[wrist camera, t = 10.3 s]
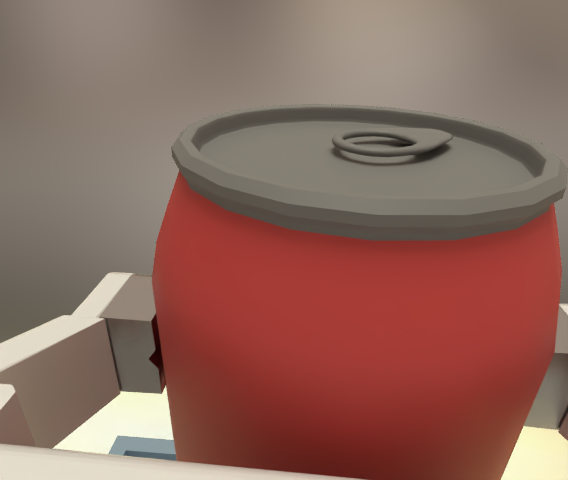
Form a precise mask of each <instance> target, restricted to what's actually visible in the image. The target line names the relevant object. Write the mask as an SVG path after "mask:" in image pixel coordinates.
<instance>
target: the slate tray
mask: <svg viewBox="0 0 568 480" xmlns="http://www.w3.org/2000/svg"><path fill="white" fill-rule="evenodd" d="M109 454H112V455H122V456H132V457H142V458H152V459H163V460H173V461H177V459H176V452H175V445H174V440H165V439H152V438H140V437H128V436H117V438H116V440H115V442H114V444H113V446H112V448H111V450H110V452H109Z"/></svg>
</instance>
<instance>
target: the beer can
mask: <svg viewBox="0 0 568 480" xmlns="http://www.w3.org/2000/svg"><path fill="white" fill-rule="evenodd" d="M171 149H172V157H173V159H174V161H175V163H176V165H177V166H178V168H179V173H178V176H177V179H176V182H175V185H174V188H173V191H172V194H171V197H170V200H169V203H168V206H167V209H166V212H165V216H164V219H163V222H162V226H161V229H160V232H159V235H158V239H157V242H156V251H155V258H154V267H153V275H152V287H153V294H154V302H155V309H156V316H157V323H158V330H159V337H160V345H161V352H162V359H163V366H164V373H165V381H166V388H167V395H168V402H169V409H170V416H171V424H172V431H173V438H174V445H175V452H176V459H177V461H183V462H193V463H203V464H213V465H224V466H234V467H244V468H254V469H264V470H275V471H285V472H295V473H305V474H316V475H326V476H336V477H346V478H356V479H367V480H501V477H502V475H503V473H504V470H505V468H506V466H507V463H508V461H509V459H510V456H511V454H512V452H513V449H514V447H515V445H516V442H517V440H518V438H519V435H520V433H521V430H522V428H523V426H524V423H525V421H526V419H527V416H528V414H529V412H530V409H531V407H532V405H533V402H534V400H535V398H536V395H537V393H538V391H539V388H540V386H541V383H542V381H543V379H544V376H545V374H546V372H547V369H548V367H549V365H550V362H551V360H552V358H553V355H554V353H555V342H556V332H557V322H558V311H559V300H560V288H561V275H562V266H561V257H560V247H559V238H558V229H557V221H556V214H555V207H554V202H556V201H558V200H560V199H562V198H563V194H564V192H565V189H566V184H567V173H568V168H567V167H566V166H565V164H564V163H563V162H562V160H561V159H560V158H559V157H557V156H556V155H555V154H554V153H553V152H552V151H550V150H549V149H548V148H547V147H546V146H544V145H543V144H542V143H540V142H537V141H535V140H532V139H530V138H527V137H525V136H523V135H520V134H518V133H516V132H513V131H510V130H507V129H503V128H500V127H496V126H492V125H488V124H485V123H481V122H478V121H474V120H468V119H463V118H457V117H452V116H447V115H442V114H436V113H429V112H421V111H413V110H405V109H397V108H387V107H373V106H359V105H324V104H304V105H280V106H267V107H258V108H250V109H240V110H235V111H230V112H226V113H221V114H217V115H212V116H209V117H207V118H204V119H202V120H200V121H198V122H195V123H193V124H191V125H189V126H187V127H186V128H185V130H183V132H181V134H180V135H179V137H178V138H177V140H176V141H175V143H174V144H173V146H172V147H171Z"/></svg>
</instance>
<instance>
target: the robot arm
mask: <svg viewBox="0 0 568 480" xmlns="http://www.w3.org/2000/svg"><path fill="white" fill-rule="evenodd" d="M165 385H166V381H165V373H164V366H163V359H162V352H161V345H160V337H159V330H158V323H157V316H156V309H155V302H154V294H153V287H152V275H144V274H132V273H119V272H113V273H108V274H107V275H106V276H105V277H104V279H103V280H102V281H101V282H100V283H99V284H98V285H97V287H96V288H95V289H94V290H93V291H92V292H91V293H90V295H89V296H88V297H87V298H86V299H85V300H84V301H83V303H82V304H81V305H80V306H79V307H78V308H77V309H76V310H75V312H74V313H73V314H72V315H71V316H66V315H63V316H61V317H59V318H56V319H54V320H52V321H50V322H47V323H45V324H43V325H41V326H38V327H36V328H34V329H32V330H29V331H27V332H25V333H23V334H21V335H18V336H16V337H14V338H12V339H9V340H7V341H5V342H3V343H0V480H367V479H356V478H346V477H336V476H326V475H316V474H305V473H295V472H285V471H275V470H264V469H254V468H244V467H234V466H224V465H213V464H203V463H193V462H183V461H173V460H163V459H152V458H142V457H132V456H122V455H112V454H101V453H91V452H81V451H71V450H61V449H52V448H53V447H54V446H56V445H57V444H58V443H59V442H61V441H62V440H63V439H64V438H66V437H67V436H68V435H69V434H71V433H72V432H73V431H74V430H76V429H77V428H78V427H79V426H81V425H82V424H83V423H84V422H85V421H87V420H88V419H89V418H90V417H92V416H93V415H94V414H95V413H97V412H98V411H99V410H100V409H102V408H103V407H104V406H105V405H107V404H108V403H109V402H110V401H112V400H113V399H114V398H115V397H117V396H118V395H119V394H120V391H126V392H143V393H159V394H162V392H163V390H164V388H165ZM524 426H529V427H537V428H546V429H555V430H559V431H558V432H559V433H560V434H561V435H562V436H563V437H564V438H565V439H567V440H568V304H559V311H558V322H557V332H556V342H555V353H554V355H553V358H552V360H551V362H550V365H549V367H548V369H547V372H546V374H545V376H544V379H543V381H542V383H541V386H540V388H539V391H538V393H537V395H536V398H535V400H534V402H533V405H532V407H531V409H530V412H529V414H528V416H527V419H526V421H525V423H524Z"/></svg>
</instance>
